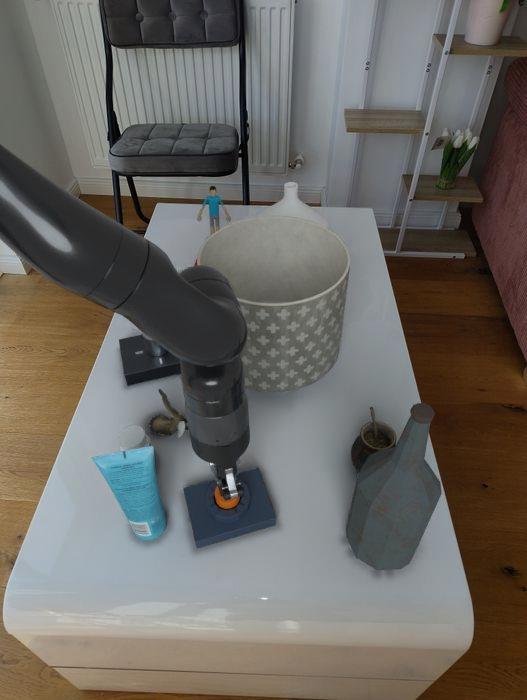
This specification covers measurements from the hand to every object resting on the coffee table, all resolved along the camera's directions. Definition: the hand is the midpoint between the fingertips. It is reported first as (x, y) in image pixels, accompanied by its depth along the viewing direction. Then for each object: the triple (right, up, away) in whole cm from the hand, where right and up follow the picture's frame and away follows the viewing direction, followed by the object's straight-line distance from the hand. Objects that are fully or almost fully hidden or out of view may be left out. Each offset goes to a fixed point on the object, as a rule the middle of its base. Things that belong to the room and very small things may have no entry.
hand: (227, 491), depth 75 cm
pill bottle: (-15, +1, +10) cm, 18 cm away
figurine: (-7, +48, +56) cm, 74 cm away
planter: (+7, +19, +27) cm, 34 cm away
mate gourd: (+23, +2, +9) cm, 25 cm away
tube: (-12, -6, +3) cm, 13 cm away
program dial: (-15, +21, +25) cm, 35 cm away
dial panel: (-15, +19, +27) cm, 36 cm away
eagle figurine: (-10, +7, +15) cm, 20 cm away
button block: (0, -4, +4) cm, 6 cm away
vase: (+11, +42, +50) cm, 66 cm away
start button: (0, -1, +1) cm, 2 cm away
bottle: (+22, -7, +1) cm, 24 cm away
